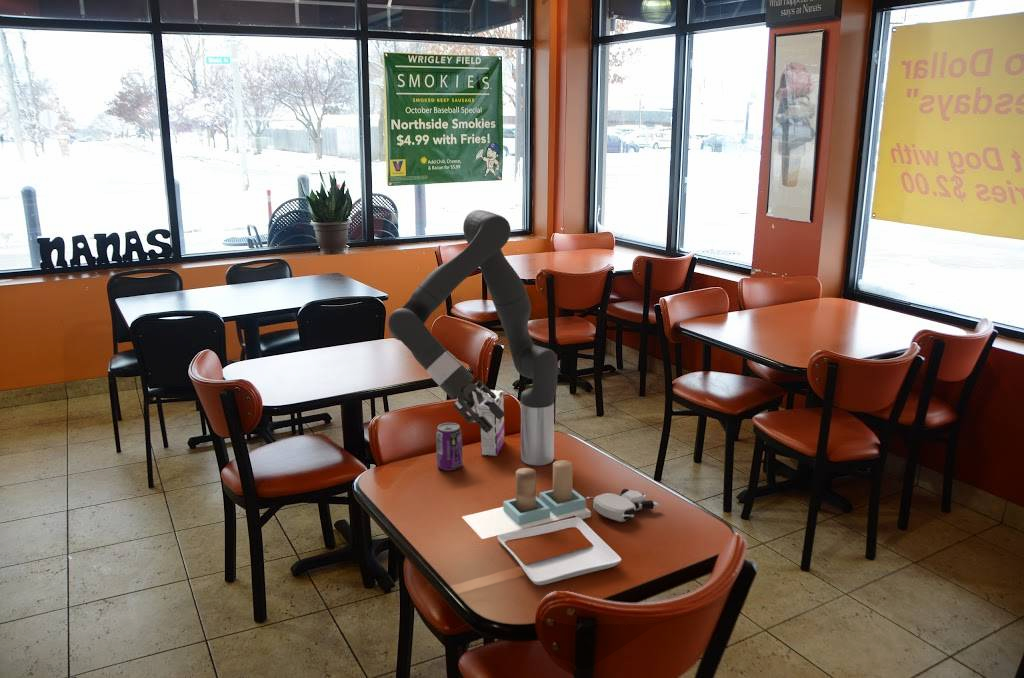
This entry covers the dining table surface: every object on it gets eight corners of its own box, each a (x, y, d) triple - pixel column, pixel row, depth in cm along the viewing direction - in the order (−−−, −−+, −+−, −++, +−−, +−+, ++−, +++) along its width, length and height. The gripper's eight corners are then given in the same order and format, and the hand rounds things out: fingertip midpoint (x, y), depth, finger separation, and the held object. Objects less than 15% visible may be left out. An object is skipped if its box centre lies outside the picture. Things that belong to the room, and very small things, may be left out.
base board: (461, 522, 197) (460, 474, 193) (566, 496, 209) (566, 451, 206) (482, 545, 186) (481, 495, 183) (590, 516, 199) (591, 469, 195)
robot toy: (625, 498, 210) (583, 512, 201) (626, 482, 209) (584, 495, 200) (661, 515, 201) (619, 531, 192) (663, 498, 200) (621, 513, 190)
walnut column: (512, 512, 198) (512, 470, 195) (529, 507, 200) (529, 466, 197) (521, 520, 194) (521, 477, 191) (539, 515, 196) (539, 473, 193)
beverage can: (461, 472, 224) (460, 431, 221) (436, 472, 224) (434, 431, 221) (463, 461, 231) (462, 421, 228) (438, 461, 231) (437, 422, 228)
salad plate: (534, 596, 167) (534, 581, 166) (495, 547, 186) (495, 533, 185) (623, 573, 175) (624, 559, 174) (578, 528, 194) (578, 515, 193)
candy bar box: (488, 440, 245) (487, 389, 241) (505, 441, 244) (504, 390, 240) (480, 455, 235) (478, 402, 230) (496, 456, 234) (496, 403, 229)
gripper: (448, 374, 187) (496, 425, 187) (470, 355, 200) (516, 403, 200) (428, 393, 190) (475, 444, 190) (451, 374, 203) (496, 421, 203)
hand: (496, 423), depth 195 cm, fingers open, 8 cm apart
